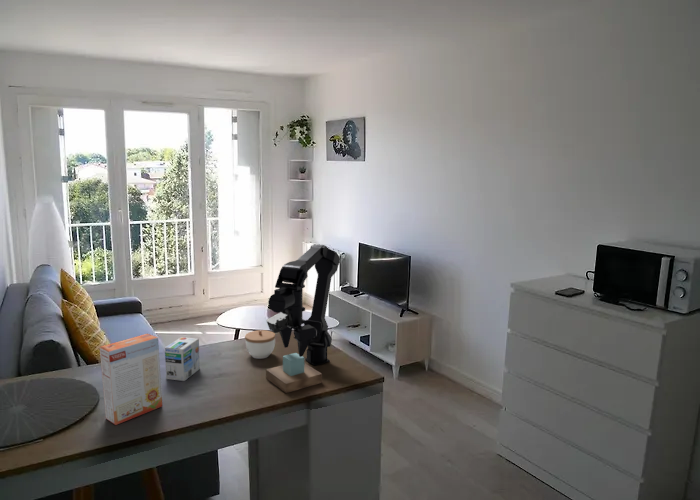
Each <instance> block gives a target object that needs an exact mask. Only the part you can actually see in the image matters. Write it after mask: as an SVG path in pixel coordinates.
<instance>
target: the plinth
mask: <svg viewBox="0 0 700 500" xmlns="http://www.w3.org/2000/svg"><path fill="white" fill-rule="evenodd" d="M265 378H266V380H268V381H269V382H270V383H272V384H273V385H275V386H276V387H277V388H279V389H280V390H281V391H282V392H284V393H285V394H288V393H291V392H296V391H298V390H301V389H305V388H308V387H312V386H316V385H318V384H322V383H323V373H322V372H320V371H318V370H316V369H315V368H313V367H312V366H310V365H308V364H307V363H306V362H304V373H300V374H297V375H293V376H290V375H288V374H287V373H285V372H284V371H283V364H282V365H278V366H274V367H270V368H266V370H265Z"/></svg>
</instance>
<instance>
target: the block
mask: <svg viewBox="0 0 700 500" xmlns="http://www.w3.org/2000/svg"><path fill="white" fill-rule="evenodd" d="M304 363H305V356H304V355H303V356H301V357H300V356H299V352H298V353H297V352H293V353H288V354H285V355H282V365H283V371H284V372H285V373H287V374H288V375H290V376H293V375H297V374H300V373H304Z"/></svg>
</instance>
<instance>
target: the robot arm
mask: <svg viewBox="0 0 700 500" xmlns="http://www.w3.org/2000/svg"><path fill="white" fill-rule="evenodd" d="M340 263H341V257H340V255H339V253H338V252H336V251H334V250H333V249H330V248H328V246H326V245H325V244H314V243H313V244H312V245H310V247H309V249H308V250H307V251H305V252H304V253H303V254H302V255H301V256H300V257H299V258H298V259H296V260H291V261H289V262H286V263H284V264H283V265H282V267H281V269H280V270H279V273H278V277H277V280H276V281H275V285H274V288H275V289H274V292H273V294H271V295H270V297H269V299H268V301H267V302H268V307H269V308H270V310H271V311H272V312H274V313H277V314H274V315H272V316H271V317H269V318H267V319H266V323H267V326H268V328H269V331H271V332H273V333H279V335H280V337H281V340H282V341H281V342H282V344H283V348H285V349H286V348H288V347H289V343H290V340H291V336H292V332H293V335H294V336H293V339H295V341H297V352H298V354H299V356H300V357H301V356H303V357H304V354H305V352H306V357H304V361H306V362H308V363H309V364H311V365H313V366H318V365H323V364H326V363H329V362H330V359H329V358H328V347H329V348H330V347H331V345H332V342H333V341H332V339H333V338H332V336H331V335H330V333H329V325H328V323H327V320H326V314H327V313H326V312H327V309H328V308H327V306H328V300H329V295H330V287H331V282H332V278H333V276H334V275H335V274H336V273H337V272H338V270H339V269H338V268H339V265H340ZM312 267H314V268H315V270H316V271H315V272H316V274H317V278H316V284H315V291H314V298H313V304H312V310H311V314H310V317H309V318H308V319H303V312H305V311H306V307H304V306H303V296H304V295H303V291H304V290H303V289H304V288H306V285H305V281H306V280H307V278H308V277H309V276H308V272H309V271H310V270H311V268H312Z"/></svg>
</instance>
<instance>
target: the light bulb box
mask: <svg viewBox="0 0 700 500" xmlns="http://www.w3.org/2000/svg"><path fill="white" fill-rule="evenodd" d="M164 358H165V359H164V360H165V378H166V380H172V381H174V380H175V381H181V382H185V381H186V380H188V378H189V379H190V377H191V376H192V375H195V373H197V372H198V371H200V369H201V368H200V367H201V365H200V364H201V363H200V339H199V338H194V337H186V336H185V337H183V336H180V337H179V338H177V339H176V340H174V341H173V342H171V343H169V344H168V345H166V346H165V347H164Z"/></svg>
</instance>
